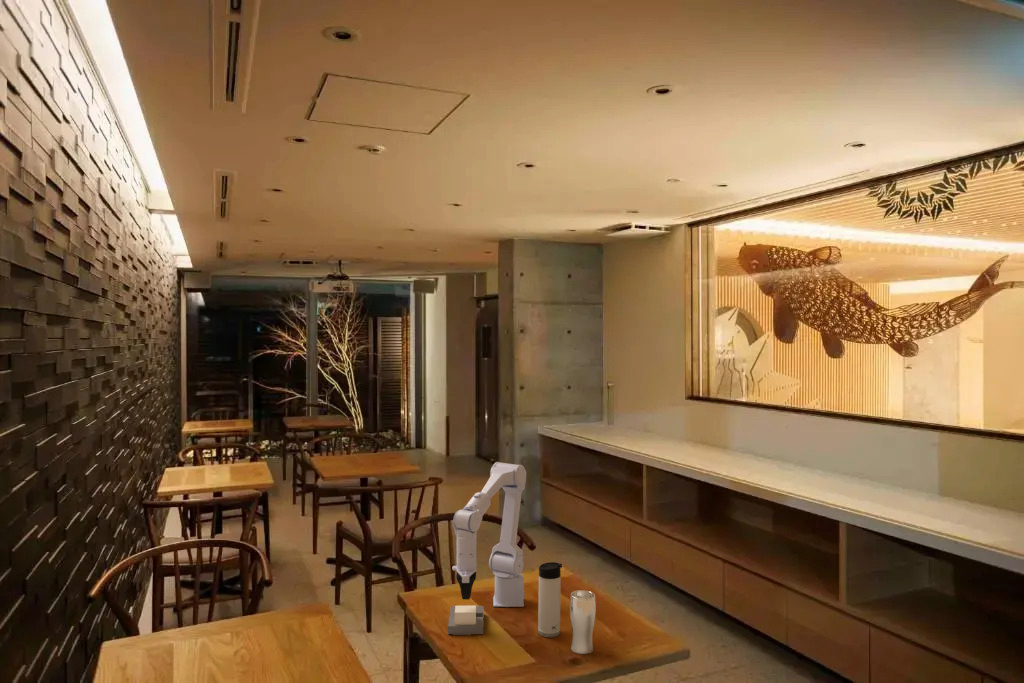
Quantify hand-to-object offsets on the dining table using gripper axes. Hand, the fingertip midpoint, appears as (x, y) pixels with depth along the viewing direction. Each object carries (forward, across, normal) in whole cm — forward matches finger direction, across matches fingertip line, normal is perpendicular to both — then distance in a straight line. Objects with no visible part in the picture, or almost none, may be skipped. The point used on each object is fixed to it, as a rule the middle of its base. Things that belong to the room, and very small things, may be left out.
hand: (466, 598), depth 203 cm
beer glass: (+9, +13, +32) cm, 36 cm away
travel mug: (+9, +3, +24) cm, 26 cm away
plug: (+8, 0, 0) cm, 8 cm away
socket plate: (+9, -3, 0) cm, 9 cm away
